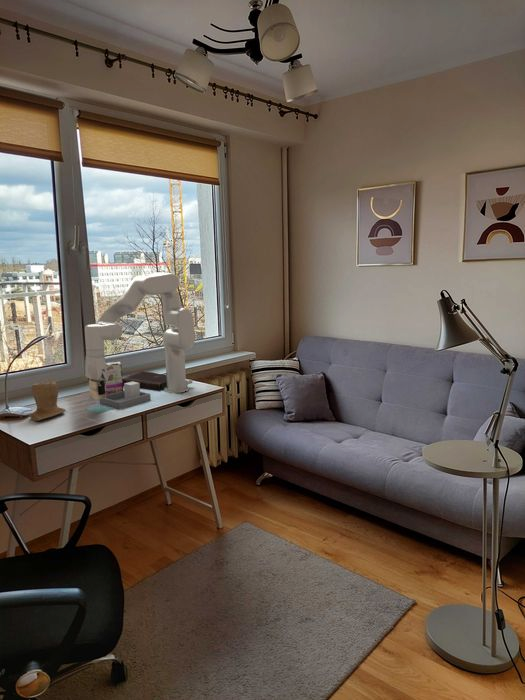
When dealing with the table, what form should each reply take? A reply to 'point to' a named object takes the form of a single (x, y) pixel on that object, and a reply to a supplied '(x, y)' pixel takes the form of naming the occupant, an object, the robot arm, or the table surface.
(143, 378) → the diary
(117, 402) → the parts bin
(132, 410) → the table surface
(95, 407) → the mat
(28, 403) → the table surface
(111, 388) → the candy bar box
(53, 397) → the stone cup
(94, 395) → the labelled block
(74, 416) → the table surface
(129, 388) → the grey block
